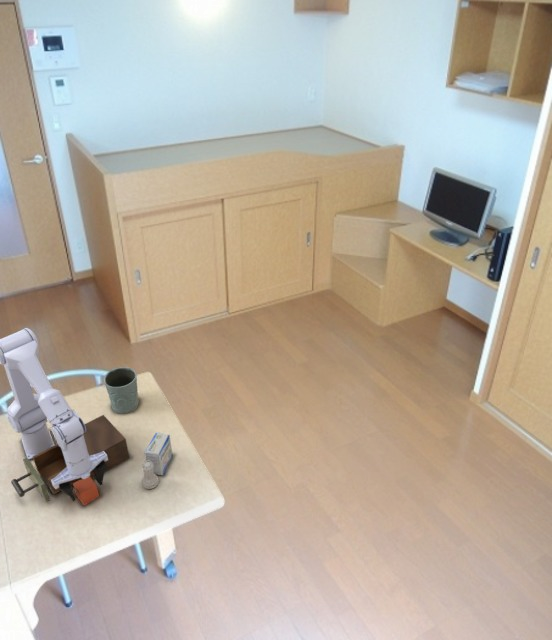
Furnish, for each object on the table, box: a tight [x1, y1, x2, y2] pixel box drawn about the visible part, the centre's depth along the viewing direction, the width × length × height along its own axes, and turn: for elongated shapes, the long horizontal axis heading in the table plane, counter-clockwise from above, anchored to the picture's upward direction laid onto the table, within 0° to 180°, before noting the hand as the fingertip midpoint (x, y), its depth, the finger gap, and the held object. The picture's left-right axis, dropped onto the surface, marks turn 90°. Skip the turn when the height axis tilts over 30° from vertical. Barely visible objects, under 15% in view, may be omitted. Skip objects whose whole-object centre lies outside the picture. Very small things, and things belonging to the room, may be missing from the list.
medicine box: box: [144, 432, 173, 476], centre depth 150 cm, size 8×4×9 cm, turn 168°
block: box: [72, 476, 100, 506], centre depth 142 cm, size 4×4×5 cm
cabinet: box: [80, 414, 130, 480], centre depth 152 cm, size 14×13×8 cm
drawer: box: [10, 443, 81, 502], centre depth 145 cm, size 18×12×6 cm, turn 133°
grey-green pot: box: [103, 366, 140, 415], centre depth 170 cm, size 10×10×12 cm
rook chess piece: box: [140, 459, 160, 490], centre depth 144 cm, size 4×4×8 cm
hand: (86, 490), depth 142 cm, fingers open, 7 cm apart
